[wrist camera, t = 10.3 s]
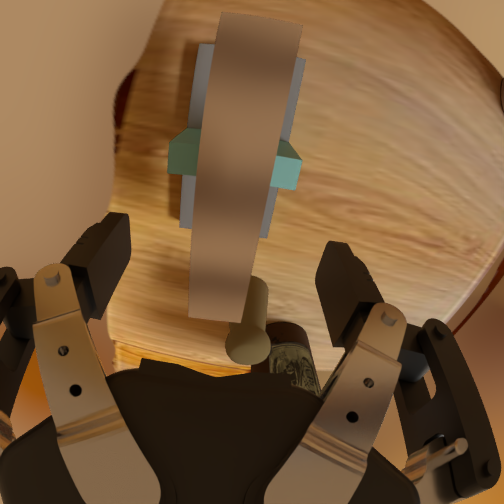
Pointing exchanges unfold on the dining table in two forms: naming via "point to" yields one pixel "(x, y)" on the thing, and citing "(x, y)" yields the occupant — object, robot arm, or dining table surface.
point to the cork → (250, 327)
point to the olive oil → (290, 356)
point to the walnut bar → (237, 157)
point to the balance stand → (188, 141)
